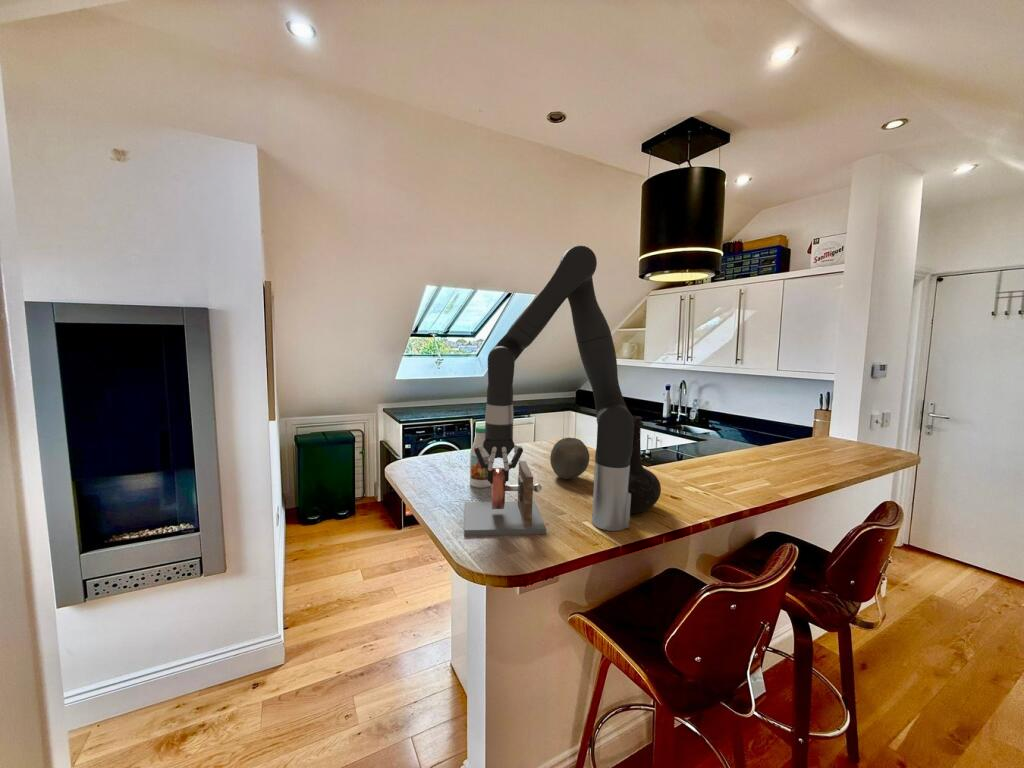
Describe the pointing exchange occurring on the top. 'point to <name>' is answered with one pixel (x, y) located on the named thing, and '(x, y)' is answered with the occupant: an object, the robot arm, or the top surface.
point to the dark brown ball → (569, 458)
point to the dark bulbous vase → (641, 477)
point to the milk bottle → (476, 471)
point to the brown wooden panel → (525, 492)
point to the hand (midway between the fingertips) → (497, 482)
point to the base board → (500, 520)
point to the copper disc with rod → (503, 488)
